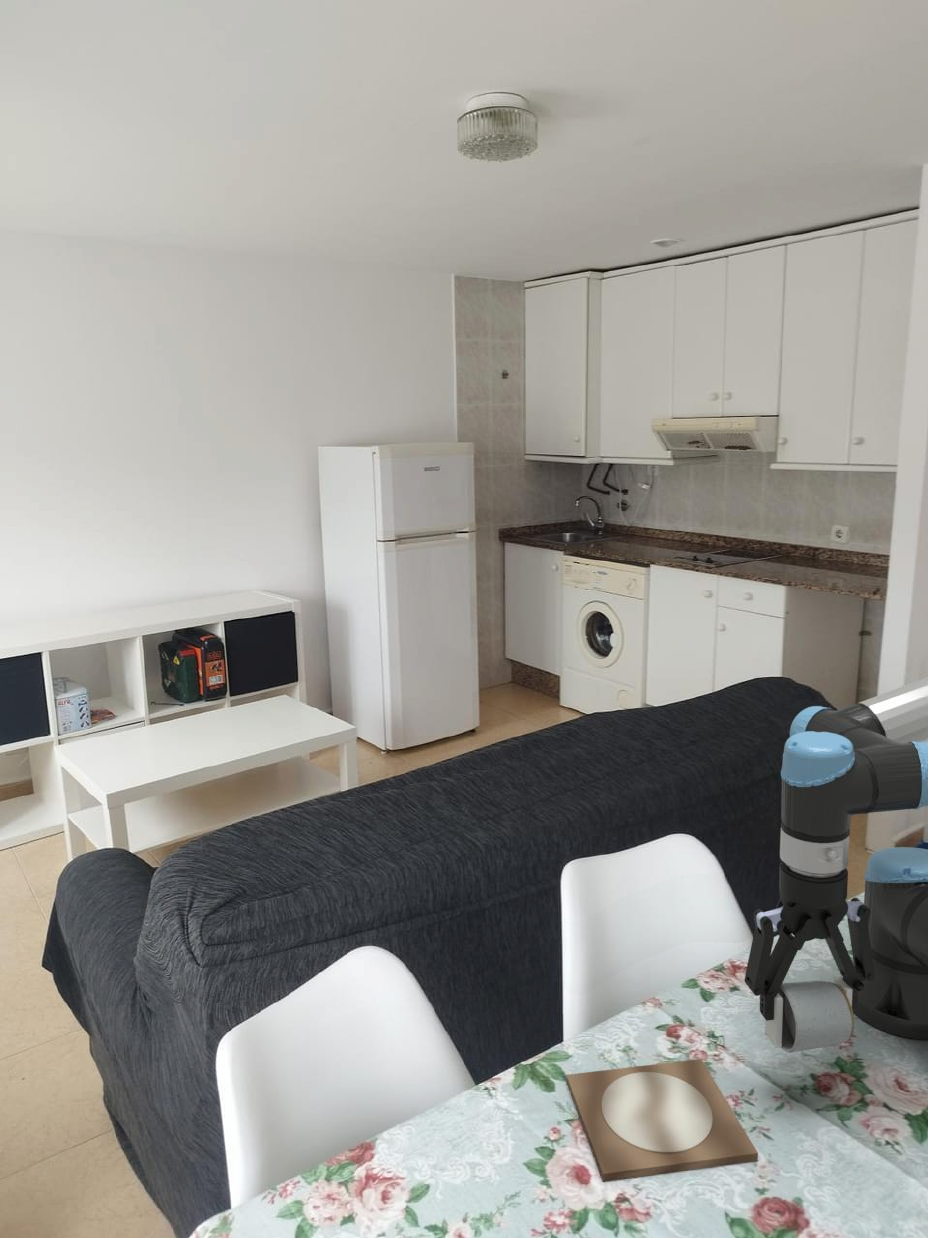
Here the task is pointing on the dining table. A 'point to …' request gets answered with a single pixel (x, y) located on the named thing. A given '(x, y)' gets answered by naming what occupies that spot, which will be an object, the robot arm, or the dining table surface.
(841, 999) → the ceramic mug
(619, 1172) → the board
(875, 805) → the robot arm
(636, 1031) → the dining table surface
